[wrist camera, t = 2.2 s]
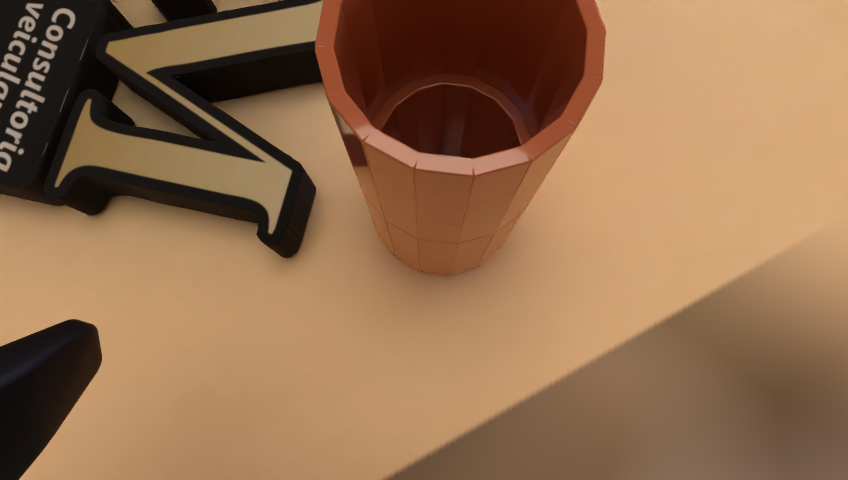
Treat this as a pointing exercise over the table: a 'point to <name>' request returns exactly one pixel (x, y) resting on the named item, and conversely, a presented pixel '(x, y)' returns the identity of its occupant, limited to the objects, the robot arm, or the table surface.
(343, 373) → the table surface
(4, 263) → the table surface
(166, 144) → the decorative sign
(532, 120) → the terracotta tube
